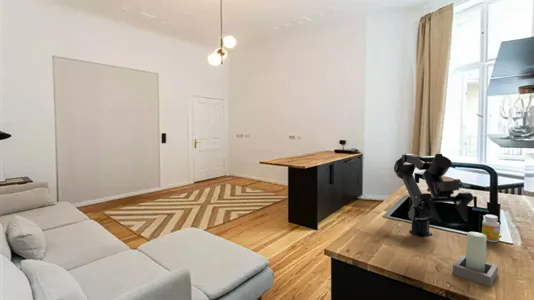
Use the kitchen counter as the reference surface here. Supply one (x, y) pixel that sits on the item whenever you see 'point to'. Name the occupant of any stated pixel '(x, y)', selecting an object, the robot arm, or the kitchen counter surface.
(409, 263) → the kitchen counter surface
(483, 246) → the sage peg
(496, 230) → the supplement bottle
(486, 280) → the socket collar
